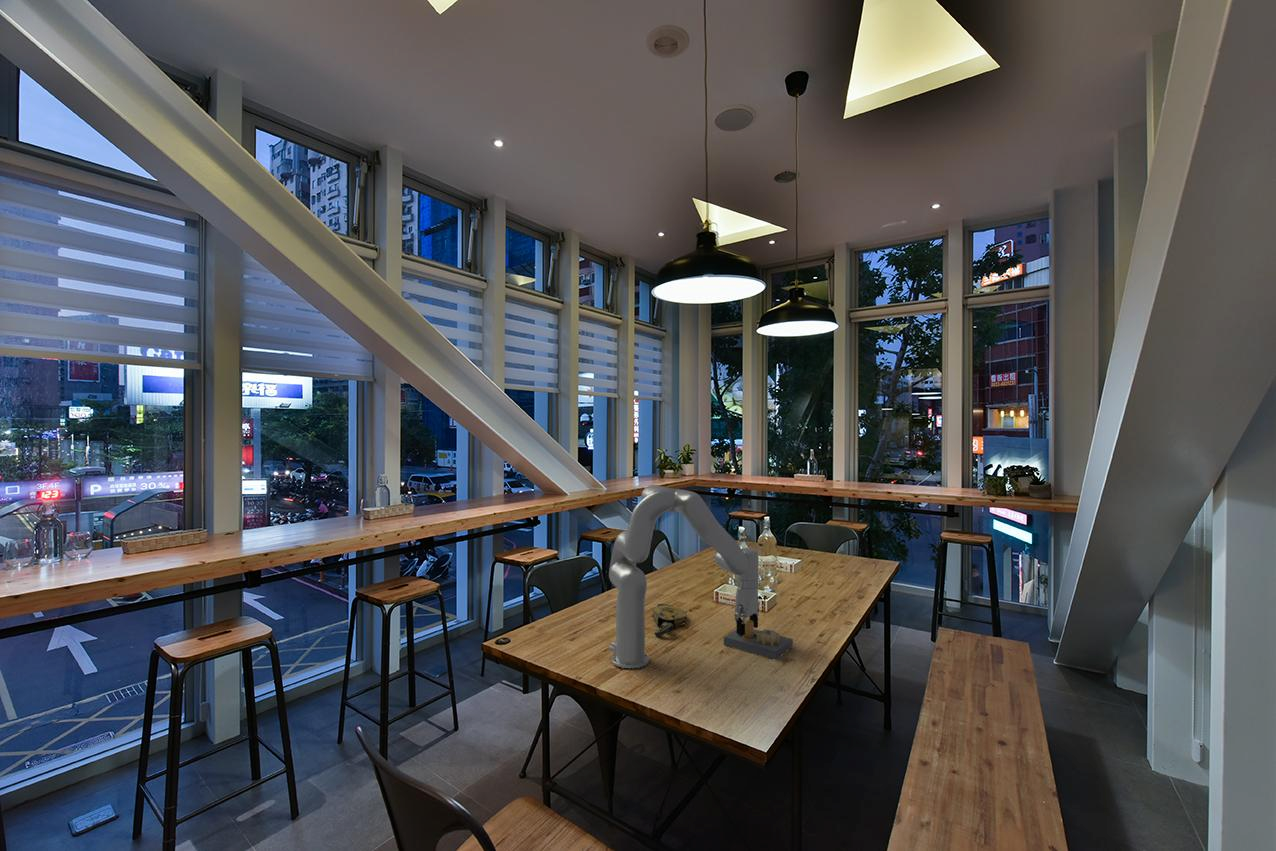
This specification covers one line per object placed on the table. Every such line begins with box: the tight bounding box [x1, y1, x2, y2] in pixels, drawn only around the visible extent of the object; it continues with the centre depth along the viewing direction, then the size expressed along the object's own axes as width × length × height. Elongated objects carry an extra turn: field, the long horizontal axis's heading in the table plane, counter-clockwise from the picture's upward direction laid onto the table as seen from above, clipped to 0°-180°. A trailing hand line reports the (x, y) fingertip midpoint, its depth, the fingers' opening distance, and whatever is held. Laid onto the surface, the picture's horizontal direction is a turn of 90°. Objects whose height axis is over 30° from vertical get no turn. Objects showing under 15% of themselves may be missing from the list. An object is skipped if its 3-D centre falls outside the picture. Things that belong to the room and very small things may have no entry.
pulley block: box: [651, 603, 687, 638], centre depth 213 cm, size 14×6×30 cm
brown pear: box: [742, 619, 755, 639], centre depth 195 cm, size 4×4×8 cm
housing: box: [723, 628, 794, 661], centre depth 192 cm, size 20×14×6 cm
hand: (747, 630), depth 195 cm, fingers open, 9 cm apart
